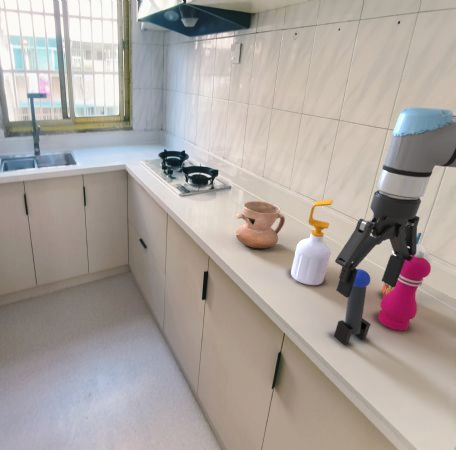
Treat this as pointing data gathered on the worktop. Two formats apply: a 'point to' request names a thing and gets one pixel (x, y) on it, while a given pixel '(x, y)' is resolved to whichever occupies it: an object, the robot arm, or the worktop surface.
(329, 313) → the worktop surface
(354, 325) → the microphone
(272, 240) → the ceramic jug
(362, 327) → the clip
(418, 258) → the pepper mill
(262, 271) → the worktop surface
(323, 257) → the soap bottle
